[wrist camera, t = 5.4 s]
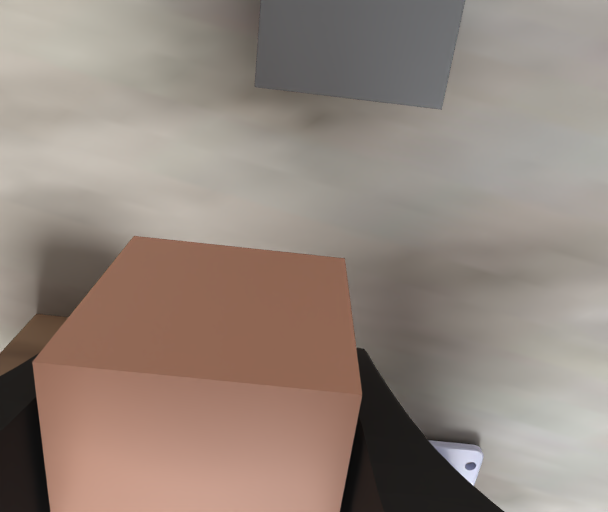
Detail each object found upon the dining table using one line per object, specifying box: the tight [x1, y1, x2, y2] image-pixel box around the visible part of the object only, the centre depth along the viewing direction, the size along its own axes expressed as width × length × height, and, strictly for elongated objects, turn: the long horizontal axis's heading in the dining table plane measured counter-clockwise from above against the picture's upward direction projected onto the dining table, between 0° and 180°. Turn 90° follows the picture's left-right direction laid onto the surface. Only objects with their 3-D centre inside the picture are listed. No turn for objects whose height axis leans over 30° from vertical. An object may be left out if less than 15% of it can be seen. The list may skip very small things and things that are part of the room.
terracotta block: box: [32, 236, 362, 512], centre depth 11 cm, size 5×5×5 cm
